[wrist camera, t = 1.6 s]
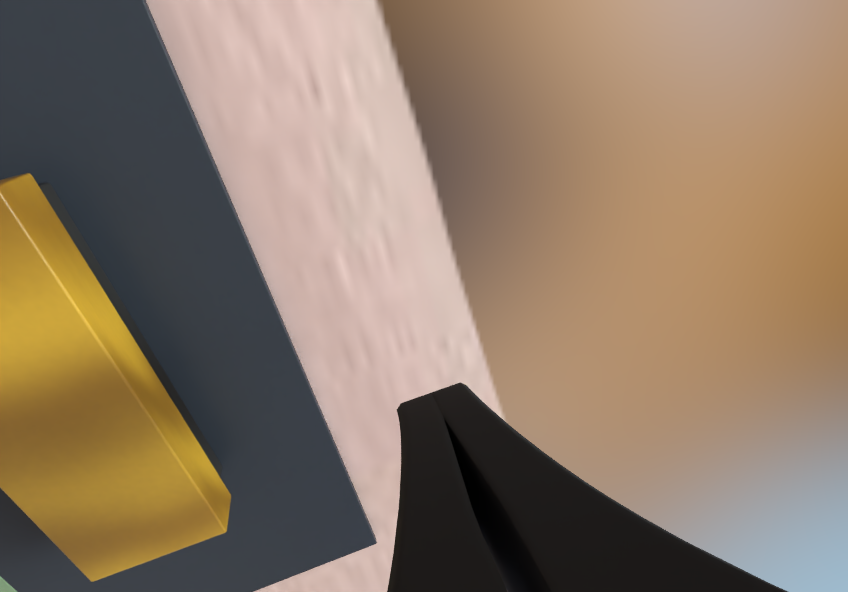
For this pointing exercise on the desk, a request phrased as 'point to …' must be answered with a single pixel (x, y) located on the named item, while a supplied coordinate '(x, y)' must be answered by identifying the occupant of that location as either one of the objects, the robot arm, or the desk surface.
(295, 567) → the desk mat
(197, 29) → the desk surface
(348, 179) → the desk surface
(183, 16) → the desk surface
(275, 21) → the desk surface
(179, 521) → the gold bar
